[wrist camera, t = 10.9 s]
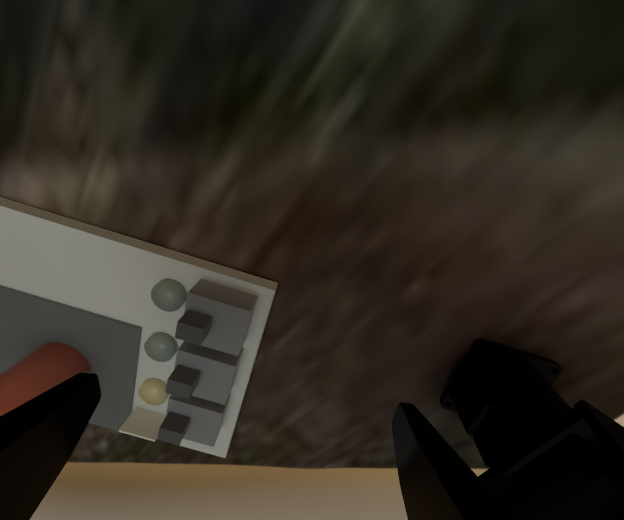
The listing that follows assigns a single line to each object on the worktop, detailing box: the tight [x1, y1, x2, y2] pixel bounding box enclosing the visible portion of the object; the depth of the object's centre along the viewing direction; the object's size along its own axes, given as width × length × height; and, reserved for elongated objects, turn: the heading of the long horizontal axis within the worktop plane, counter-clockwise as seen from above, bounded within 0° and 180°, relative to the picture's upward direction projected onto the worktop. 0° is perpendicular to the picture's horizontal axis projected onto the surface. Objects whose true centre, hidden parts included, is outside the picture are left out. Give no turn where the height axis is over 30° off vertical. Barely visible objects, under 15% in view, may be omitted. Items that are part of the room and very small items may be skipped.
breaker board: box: [0, 197, 278, 458], centre depth 22 cm, size 20×17×5 cm
